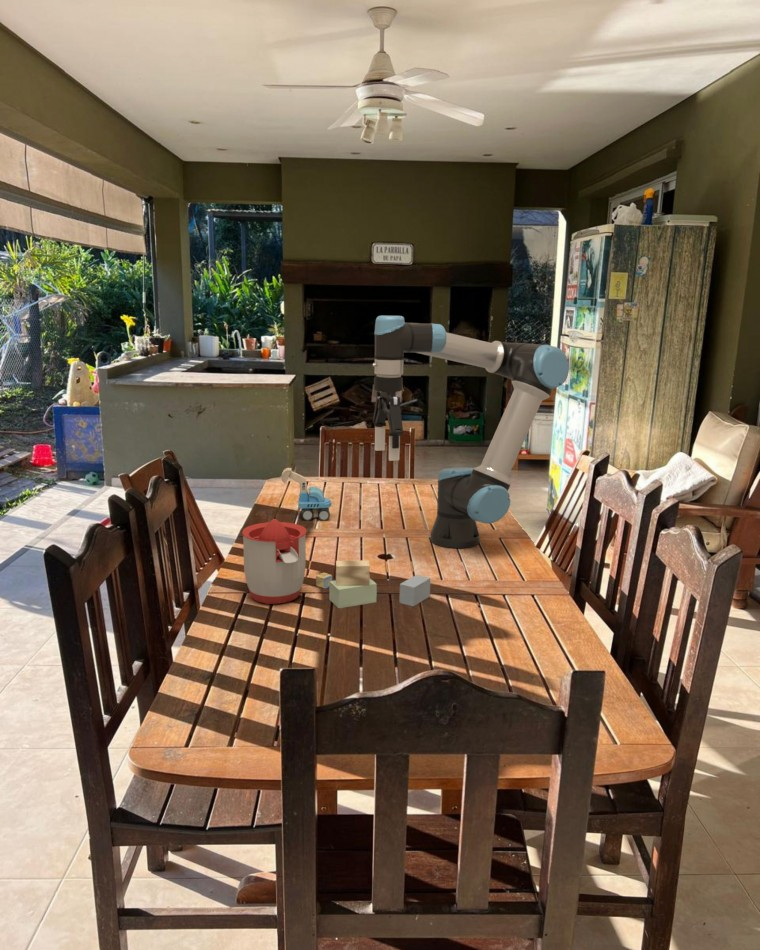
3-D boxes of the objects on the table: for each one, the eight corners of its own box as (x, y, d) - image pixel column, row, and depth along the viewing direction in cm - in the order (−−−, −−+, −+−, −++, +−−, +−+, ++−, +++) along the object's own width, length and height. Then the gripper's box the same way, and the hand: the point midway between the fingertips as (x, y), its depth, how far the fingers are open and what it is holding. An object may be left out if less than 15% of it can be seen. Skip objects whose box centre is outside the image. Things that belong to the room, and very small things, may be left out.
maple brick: (368, 579, 187) (368, 560, 186) (369, 585, 183) (369, 566, 182) (335, 580, 186) (336, 560, 185) (336, 586, 183) (336, 566, 181)
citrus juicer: (261, 616, 176) (260, 533, 171) (233, 591, 190) (231, 515, 186) (321, 603, 184) (321, 524, 180) (290, 580, 198) (289, 507, 194)
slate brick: (416, 593, 192) (416, 574, 191) (429, 596, 190) (430, 578, 189) (399, 603, 185) (399, 583, 184) (413, 607, 183) (414, 587, 182)
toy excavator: (282, 514, 260) (282, 465, 256) (331, 514, 261) (331, 465, 257) (281, 521, 251) (280, 471, 248) (331, 521, 253) (331, 471, 249)
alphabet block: (324, 589, 193) (324, 578, 193) (315, 586, 195) (315, 574, 195) (332, 586, 195) (332, 575, 195) (324, 582, 198) (324, 571, 197)
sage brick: (366, 594, 191) (366, 575, 190) (376, 603, 186) (376, 583, 184) (329, 600, 187) (329, 581, 186) (338, 609, 181) (338, 589, 180)
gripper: (362, 371, 209) (361, 446, 213) (388, 380, 185) (386, 465, 190) (388, 371, 211) (387, 446, 215) (417, 380, 187) (414, 464, 192)
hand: (386, 455), depth 203 cm, fingers open, 13 cm apart
